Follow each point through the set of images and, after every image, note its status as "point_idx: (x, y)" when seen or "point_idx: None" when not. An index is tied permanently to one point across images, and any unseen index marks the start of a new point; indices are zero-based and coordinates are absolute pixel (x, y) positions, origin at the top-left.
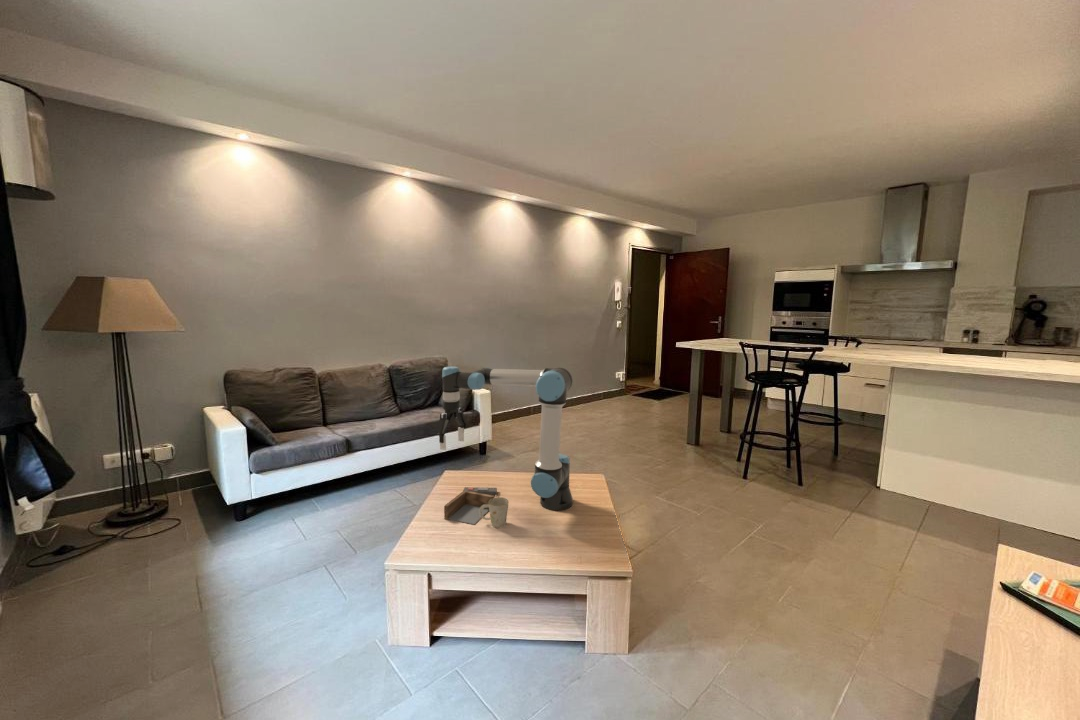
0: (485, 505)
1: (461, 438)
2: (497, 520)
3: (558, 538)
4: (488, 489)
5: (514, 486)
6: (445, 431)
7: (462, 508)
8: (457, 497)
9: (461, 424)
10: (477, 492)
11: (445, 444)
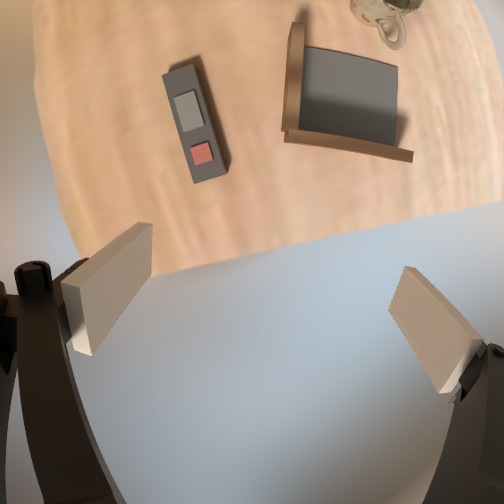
0: (403, 23)
1: (141, 250)
2: (396, 4)
3: None
4: (184, 94)
5: (117, 51)
6: (493, 375)
7: (326, 128)
8: (348, 141)
9: (61, 339)
10: (211, 123)
11: (430, 288)
